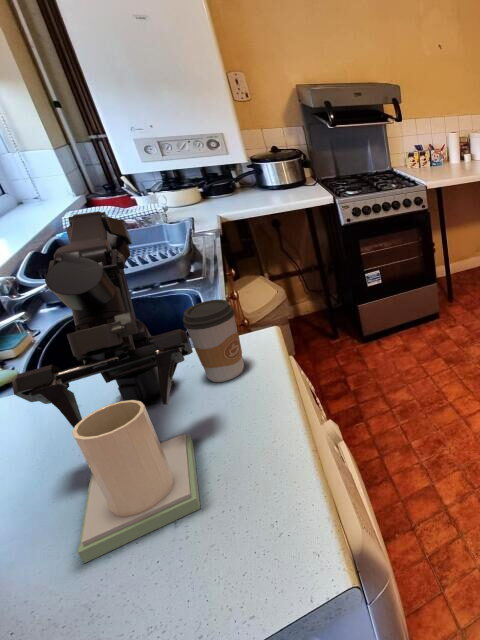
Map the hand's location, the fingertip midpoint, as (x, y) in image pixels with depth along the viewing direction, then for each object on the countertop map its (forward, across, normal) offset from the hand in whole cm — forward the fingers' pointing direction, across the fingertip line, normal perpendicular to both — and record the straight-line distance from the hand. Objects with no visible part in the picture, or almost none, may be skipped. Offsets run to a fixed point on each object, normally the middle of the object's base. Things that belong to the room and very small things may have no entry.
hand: (125, 418), depth 62 cm
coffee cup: (-8, +13, +23) cm, 28 cm away
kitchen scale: (+10, 0, +5) cm, 11 cm away
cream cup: (+11, 0, 0) cm, 11 cm away
